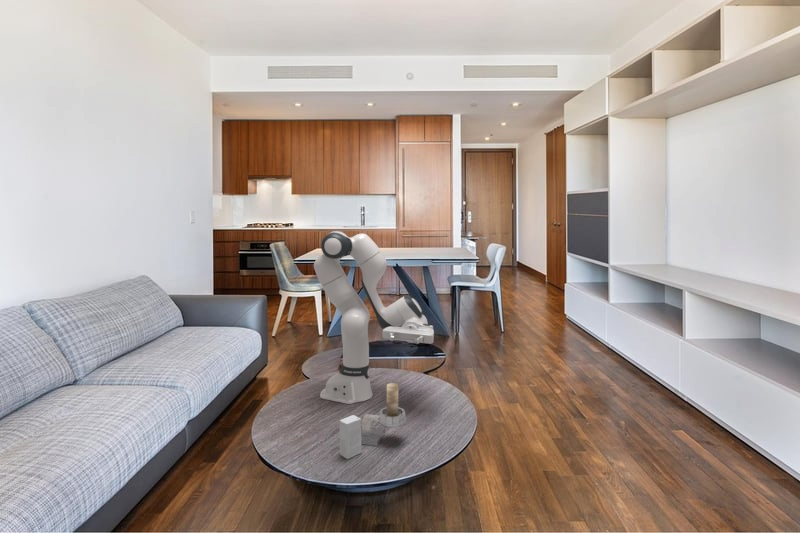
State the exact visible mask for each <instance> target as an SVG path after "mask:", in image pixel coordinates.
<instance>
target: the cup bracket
mask: <svg viewBox="0 0 800 533" xmlns="http://www.w3.org/2000/svg"><path fill="white" fill-rule="evenodd" d="M374 422H379V425H381V426H383V427H385V428H383V427H382V428H381V427H374ZM405 424H406V411H405V409H404V408H402V407H399V406H398V416H387V406H385V407H383V408H381V409H380V410H379V415H378V414H371V413H370V414H368V413H365V415H364V416H363V418H361V445H365V446H372V447H373V446H375V447H378V445H379V443H380V442H381V441H382V439H383V437H384V435H385V433H386V428H399V427H402V426H404V425H405Z"/></svg>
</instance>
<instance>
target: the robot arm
mask: <svg viewBox="0 0 800 533" xmlns="http://www.w3.org/2000/svg"><path fill="white" fill-rule="evenodd" d="M320 248H321V252H322V254H321V255H320V256H319V257H318V258H316V259H315V261H314V263H313V269H314V271H315V274H316V277H317V280H318V281H319V283H320V285H321V287H322V289H323V290H324V292H325V294H326V296H327V298H328V300H329V302H330V303H331V304H332V305H333V306H334V307H335V308H336V309H337V310H338V312H339V314H340V315H341V319H340V329H341V330H340V331H341V332H340V334H341V342H342V361H341V362H340V364H339V365H338V366H337V371H338V372H336V373H335V374H334V375H332V376H331V377H330V378H329V379H327V381H326V384H325V387H324V388H323V389H322V390H321V391H320V394H319V398H320V399H323V400H328V401H333V402H336V403H342V404H346V405H352V404H355V403H361V402H366V401H368V400H370V399H372V397H373V396H374V395H373V391H372V387H371V381H370V376H371V364H370V345H369V329H368V328H369V323H370V320H371V312H370V311H369V308H368V307H367V306H366V304H365V303H364V301H363V300H362V298H361V297H360V295H359V294H358V293H357V291H356V290H355V288H354V287H353V285H352V284H351V282H350V280H349V278H348V275H346V272H345V270H344V269H343V267H342V265H341V259H343V257H344V258H345V257H347V256H350V257H352V259H354V261H355V262H356V263H357V265H358V266H359V268H360V270H361V274H362V278H361V280H360V281H361V286H362V288H363V291H364V294H365V295H366V297H367V299H368V302H369V304H370V306H371V307H372V310H373V312H374V314H375V316H376V320H377V323H378V325H379V326H380V328H381V329H382V336H381V337H382V339H384V340H389V341H390V342H395V341H403V342H407V343H409V344H420V343H421V344H431V345H432V344H433V343H434V338H435V332H434V331H435V330H434V326H433V325H431V324H429V323H428V319H427V317H426V316H425V315H424V314H423V309H422V306H421V304H420V303H419V301H417V299H416V298H414V297H413V296H409V295H403V296H402V297H400V298H399V299H397V300H396V301H394V302H393V303H391V304H390V305H389V304H388V306H385V305H384V304H383V301H382V300H381V298H380V295H379V294H378V291H377V287H378V283H379V282H380V281H381V278H382V277H383V276H384V274H385V273H386V270H387V267H388V262H387V259H386V256H385V255H384V253H383V252H382V251H381V249H380V248H379V246H378V245H377V243H376V242H375V241H373V239H372V238H371V237H370V236H369V235H368V234H366V233H363V232H361V233H358V234H355V235H354V236H351V237H349V235H348V234H347V233H346V232H345V231H341V230H333V231H330V232H328V233H327V234H326V235H325V236H323V238H322V239H321V243H320Z"/></svg>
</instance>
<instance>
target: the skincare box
mask: <svg viewBox="0 0 800 533" xmlns="http://www.w3.org/2000/svg"><path fill="white" fill-rule="evenodd" d="M338 421H339V454H340V456H341V457H343V458H345V459H346V460H349V459H351V458H354V457H355V456H357V455H360V454H361V453H362V452H363V451H362V444H361V426H362V418H360V417H358V416H356V415H354V414H352V415H350V416H347V417H344V418H342V419H339V420H338Z"/></svg>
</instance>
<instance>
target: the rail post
mask: <svg viewBox="0 0 800 533" xmlns="http://www.w3.org/2000/svg"><path fill="white" fill-rule="evenodd" d="M386 407H387V416H398V407H399V384H398V383H395V382H392V383H391V382H389V383H387V384H386Z"/></svg>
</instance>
